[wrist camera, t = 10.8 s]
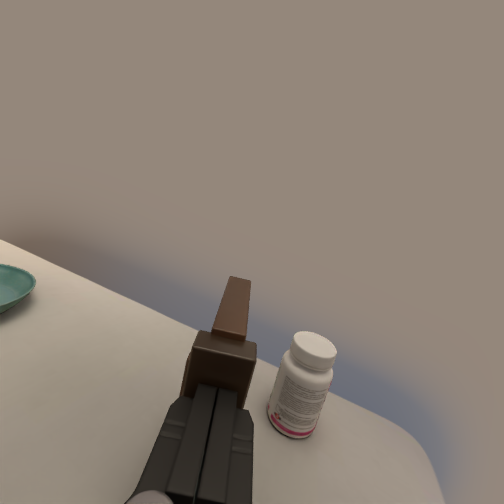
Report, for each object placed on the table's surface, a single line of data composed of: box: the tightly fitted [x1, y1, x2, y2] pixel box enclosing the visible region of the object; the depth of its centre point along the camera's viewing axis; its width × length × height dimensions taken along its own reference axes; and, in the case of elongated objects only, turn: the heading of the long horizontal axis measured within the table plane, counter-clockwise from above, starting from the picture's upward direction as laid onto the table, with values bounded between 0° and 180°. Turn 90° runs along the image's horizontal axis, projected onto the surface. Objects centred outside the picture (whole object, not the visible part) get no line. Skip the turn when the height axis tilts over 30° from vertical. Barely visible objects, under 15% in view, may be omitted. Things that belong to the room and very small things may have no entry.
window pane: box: [182, 276, 257, 502], centre depth 14 cm, size 2×7×13 cm, turn 178°
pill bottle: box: [268, 331, 337, 438], centre depth 24 cm, size 5×5×8 cm
